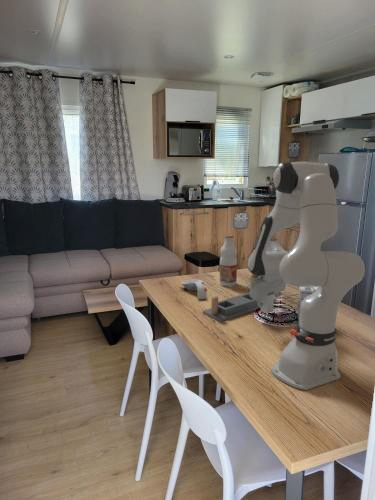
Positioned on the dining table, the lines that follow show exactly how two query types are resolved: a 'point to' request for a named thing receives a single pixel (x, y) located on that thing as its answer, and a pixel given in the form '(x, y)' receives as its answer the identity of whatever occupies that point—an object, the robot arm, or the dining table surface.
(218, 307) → the socket board
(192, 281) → the handheld barcode scanner
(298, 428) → the dining table surface
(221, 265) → the fruit juice
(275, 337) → the dining table surface
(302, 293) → the syrup box
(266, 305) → the white cylinder
